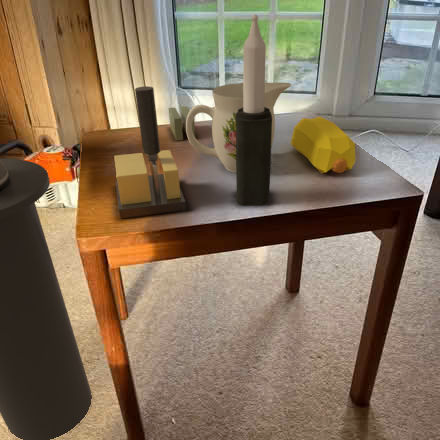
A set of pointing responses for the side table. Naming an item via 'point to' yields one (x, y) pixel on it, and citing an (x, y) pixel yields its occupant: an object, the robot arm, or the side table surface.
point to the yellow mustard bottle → (324, 145)
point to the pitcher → (229, 119)
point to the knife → (149, 129)
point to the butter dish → (153, 205)
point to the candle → (253, 126)
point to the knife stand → (179, 122)
